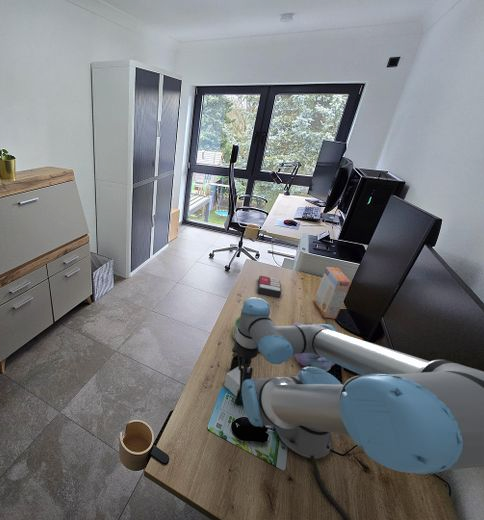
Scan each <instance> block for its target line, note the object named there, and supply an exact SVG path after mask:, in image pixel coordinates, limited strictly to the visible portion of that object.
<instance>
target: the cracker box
mask: <svg viewBox="0 0 484 520" xmlns="http://www.w3.org/2000/svg"><path fill="white" fill-rule="evenodd" d="M351 285H352V281H351V280H350V279H349V278H348V276H346V274H344V273H343V271H342V270H341V269H340V268H339V267H333V266H332V267H331V266H326V268H325V271H324V272H323V276H322V279H321V281H320V284H319V287H318V289H317V292H316V295H315V297H314V300H313V302H314V304H315V306H316V307H317V308H318V310H319V312H320V314H321V316H322V317H323V318H325V319H333V320H337V318H338V315H339V313H340V311H341V309H342V306H343V303H344V301H345V299H346V297H347V295H348V292H349V289H350V287H351Z"/></svg>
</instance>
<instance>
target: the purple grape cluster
mask: <svg viewBox="0 0 484 520" xmlns="http://www.w3.org/2000/svg"><path fill="white" fill-rule="evenodd" d="M313 324H314V323H312V322H311V323H309V325H313ZM296 325H306V324H302V323H301V322H299V321H297V322H295V323H294V324H293V326H296ZM293 356H294V358H295V361H296V362H297V363H299V364H300V365H301V366H303V367H316V368H319V369H322V370H324V371H326V372H327V373H328V372H329V370H331V368H332V367H333V366H335V365H336V363H334V362H332V361H329V360H327V359H325V358H323V357H321V356H318V355H316V354H314V353H299V354H293Z"/></svg>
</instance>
